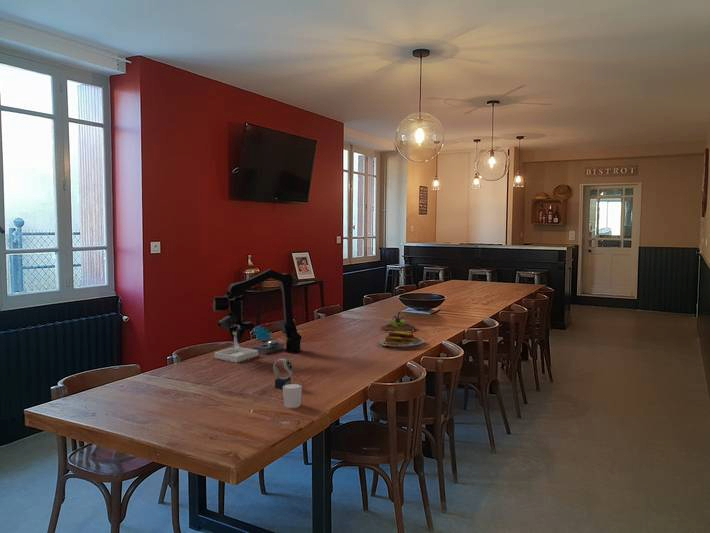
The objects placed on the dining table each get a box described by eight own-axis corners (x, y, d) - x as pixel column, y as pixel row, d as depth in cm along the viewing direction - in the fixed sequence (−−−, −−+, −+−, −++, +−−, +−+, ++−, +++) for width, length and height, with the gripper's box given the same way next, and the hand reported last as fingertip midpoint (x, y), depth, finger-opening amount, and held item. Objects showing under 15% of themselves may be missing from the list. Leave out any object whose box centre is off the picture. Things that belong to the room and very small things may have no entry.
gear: (258, 340, 292) (252, 325, 297) (253, 346, 295) (247, 331, 300) (275, 340, 299) (269, 325, 304) (270, 346, 302) (264, 331, 307)
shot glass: (283, 402, 196) (283, 383, 195) (302, 401, 196) (302, 383, 196) (282, 408, 189) (282, 389, 188) (302, 408, 190) (301, 388, 189)
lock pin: (241, 350, 261) (241, 330, 260) (236, 352, 258) (236, 331, 257) (236, 349, 263) (236, 329, 262) (231, 351, 260) (230, 330, 259)
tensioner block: (283, 348, 278) (283, 340, 278) (265, 354, 266) (265, 346, 266) (271, 347, 282) (271, 339, 282) (253, 352, 271) (253, 344, 270)
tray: (258, 356, 263) (258, 350, 263) (237, 363, 250) (237, 356, 250) (236, 352, 270) (235, 346, 270) (214, 358, 258) (214, 352, 258)
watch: (289, 389, 211) (289, 361, 210) (271, 387, 214) (270, 360, 213) (295, 385, 216) (295, 358, 216) (277, 383, 219) (277, 356, 218)
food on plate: (383, 352, 273) (383, 339, 273) (373, 341, 298) (373, 329, 297) (431, 349, 278) (432, 337, 278) (417, 339, 302) (417, 327, 302)
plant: (419, 329, 332) (420, 311, 331) (406, 335, 315) (406, 316, 314) (390, 326, 342) (391, 308, 341) (376, 331, 325) (376, 313, 324)
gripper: (209, 310, 256) (210, 343, 258) (238, 314, 247) (239, 347, 248) (226, 307, 266) (226, 338, 267) (254, 310, 256) (255, 343, 258)
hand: (236, 341), depth 260 cm, fingers closed on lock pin, 3 cm apart
